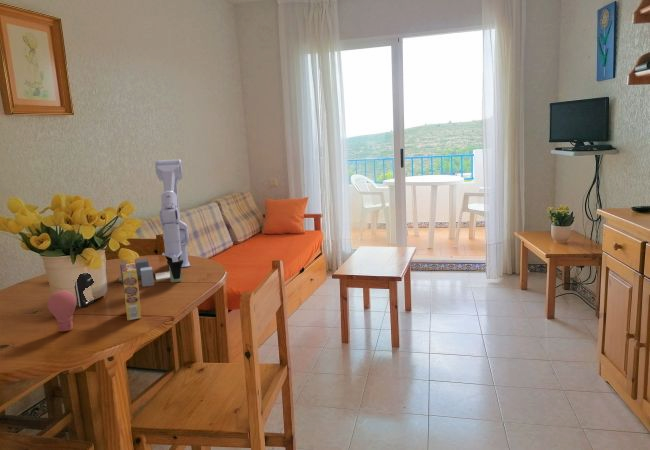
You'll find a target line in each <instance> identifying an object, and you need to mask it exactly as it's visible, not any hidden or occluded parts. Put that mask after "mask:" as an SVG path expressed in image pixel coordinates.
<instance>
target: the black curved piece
mask: <svg viewBox="0 0 650 450" xmlns="http://www.w3.org/2000/svg"><path fill="white" fill-rule="evenodd" d="M93 283H94V281H93V279H92V277H91V275H90V274H88V273H83V274H80V275H79V277H78V279H77V281H76V282H75V286H74V290H75V297H76V301H77V303H76V305H77V307H80V308H81V307H88V306H90V305H92V303H94V302H95V301H94V300H92V301H89V300H88V301H89V302H87V300H86V298H85V296H84V294H83V291H84V290H85V288H88V287H89V286H91V287H92V285H94V284H95V283H94V284H93Z"/></svg>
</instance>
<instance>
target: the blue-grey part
mask: <svg viewBox="0 0 650 450" xmlns="http://www.w3.org/2000/svg"><path fill="white" fill-rule="evenodd" d="M140 269H141V278H142V279H141V286H142V287H143V288H144V287H150V286H154V285H155V281H154V280H155V279H154V272H153V266H149V267H145V268H140Z"/></svg>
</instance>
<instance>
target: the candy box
mask: <svg viewBox="0 0 650 450" xmlns="http://www.w3.org/2000/svg"><path fill="white" fill-rule="evenodd" d="M121 266H122V276H123V282H122V285H123V294H124V305H125V311H126V320H127V321H133V320H140V319H141V318H142V313H141V311H142V310H141V301H140V299H141V298H140V291H139V290H140V289H139V280H138V278H137V270H136V265H135V263H130V264H124V265H121Z"/></svg>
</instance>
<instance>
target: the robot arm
mask: <svg viewBox="0 0 650 450" xmlns="http://www.w3.org/2000/svg"><path fill="white" fill-rule="evenodd" d="M154 163H155V164H154V168H155V174H156V177H157V178H158V180H159V181H160V182H162V183H163V193H161V195H160V203H161V204H160V205H161V207H160V209H161V210H160V211H159V222H160V225H161V226H160V227H161V229H162V235H163V236H162V237H163V246H164V252H162V254H161V255H162V257H165V258H166V264H167V265H168V268H169V267H170V269H171V271H172V275H173V278H174V279H180V273H181V272H182V268H187V267H191V264H190V261H189V258H188V257H189V256H188V248H187V244H189V243H190V233H189V226H188V224H187V223H185V222H183V221H182V220H181V214H180V203H179V190H178V185H179V184H178V183H179V181H181V180H183V176H184V174H183V163H182V160H181V159H180V158H176V159H162V160H161V159H160V160H159V159H157V160H155V161H154Z"/></svg>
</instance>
